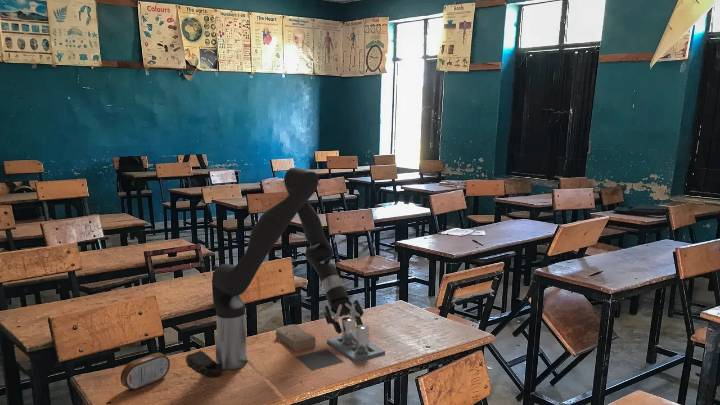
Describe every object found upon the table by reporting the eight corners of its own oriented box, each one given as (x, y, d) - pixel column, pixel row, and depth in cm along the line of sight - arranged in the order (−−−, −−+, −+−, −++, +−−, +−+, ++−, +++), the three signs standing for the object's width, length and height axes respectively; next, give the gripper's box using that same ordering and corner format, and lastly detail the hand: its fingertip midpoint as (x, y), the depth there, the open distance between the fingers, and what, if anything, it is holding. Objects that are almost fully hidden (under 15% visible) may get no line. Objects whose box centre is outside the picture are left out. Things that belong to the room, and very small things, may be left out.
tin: (166, 373, 170) (165, 348, 168) (172, 376, 168) (171, 350, 167) (120, 391, 158) (118, 364, 157) (126, 395, 156) (124, 367, 155)
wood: (178, 358, 181) (178, 350, 181) (199, 352, 186) (199, 344, 185) (204, 383, 164) (204, 374, 164) (227, 376, 169) (226, 367, 168)
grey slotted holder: (355, 364, 176) (355, 359, 176) (327, 344, 192) (327, 339, 192) (384, 356, 183) (385, 351, 183) (355, 337, 199) (355, 332, 198)
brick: (274, 338, 198) (274, 326, 197) (294, 334, 203) (294, 322, 202) (295, 355, 185) (295, 342, 184) (316, 349, 189) (316, 337, 188)
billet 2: (360, 359, 181) (360, 330, 179) (352, 354, 184) (352, 326, 183) (371, 356, 183) (371, 328, 182) (363, 351, 187) (364, 323, 186)
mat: (311, 373, 170) (311, 370, 170) (295, 359, 180) (295, 356, 180) (344, 364, 177) (344, 361, 176) (326, 351, 187) (326, 348, 186)
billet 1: (346, 349, 188) (346, 322, 187) (339, 345, 192) (339, 318, 191) (357, 346, 191) (357, 320, 189) (350, 342, 195) (350, 316, 193)
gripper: (320, 288, 191) (337, 329, 183) (354, 282, 198) (371, 321, 190) (314, 298, 196) (329, 339, 188) (347, 292, 204) (363, 331, 196)
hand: (350, 330), depth 189 cm, fingers open, 8 cm apart
